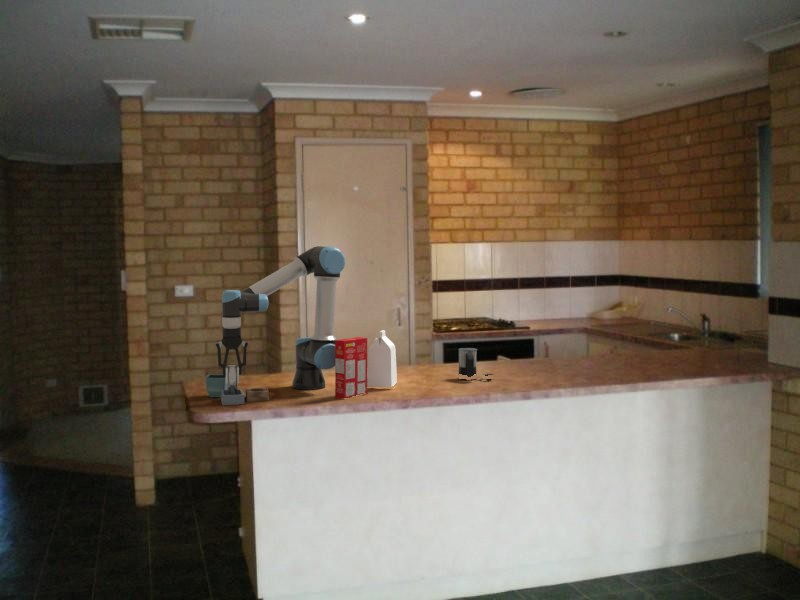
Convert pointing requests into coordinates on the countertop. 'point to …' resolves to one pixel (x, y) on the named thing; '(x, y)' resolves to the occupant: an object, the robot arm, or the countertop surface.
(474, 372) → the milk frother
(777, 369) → the countertop surface
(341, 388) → the food packaging
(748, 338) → the countertop surface
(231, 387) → the steel pin
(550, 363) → the countertop surface
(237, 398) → the tray
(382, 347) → the milk
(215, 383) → the flower pot
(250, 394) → the socket block
